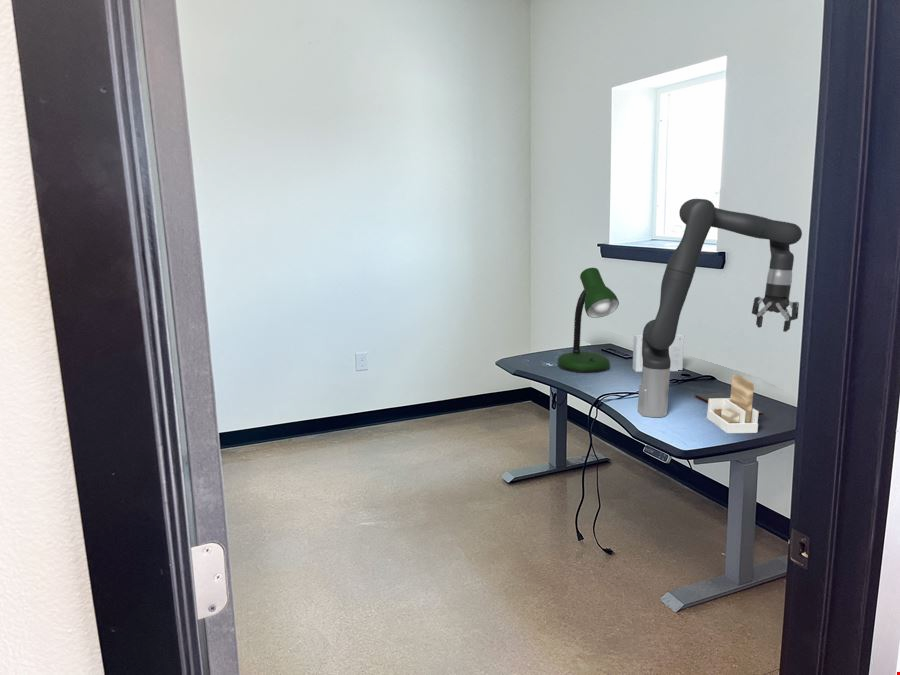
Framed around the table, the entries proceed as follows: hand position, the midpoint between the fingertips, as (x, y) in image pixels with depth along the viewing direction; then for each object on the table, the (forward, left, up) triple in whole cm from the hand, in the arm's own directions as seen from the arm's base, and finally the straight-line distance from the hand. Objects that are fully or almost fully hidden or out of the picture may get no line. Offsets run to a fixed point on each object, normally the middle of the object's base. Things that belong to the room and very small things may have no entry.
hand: (772, 329), depth 225 cm
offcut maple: (-19, -14, -27) cm, 36 cm away
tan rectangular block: (-15, -12, -30) cm, 36 cm away
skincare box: (-16, +59, -31) cm, 69 cm away
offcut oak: (-19, -14, -30) cm, 39 cm away
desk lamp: (-46, +63, -31) cm, 84 cm away
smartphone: (-8, +9, -31) cm, 34 cm away
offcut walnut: (-19, -8, -30) cm, 37 cm away
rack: (-17, -12, -30) cm, 37 cm away
